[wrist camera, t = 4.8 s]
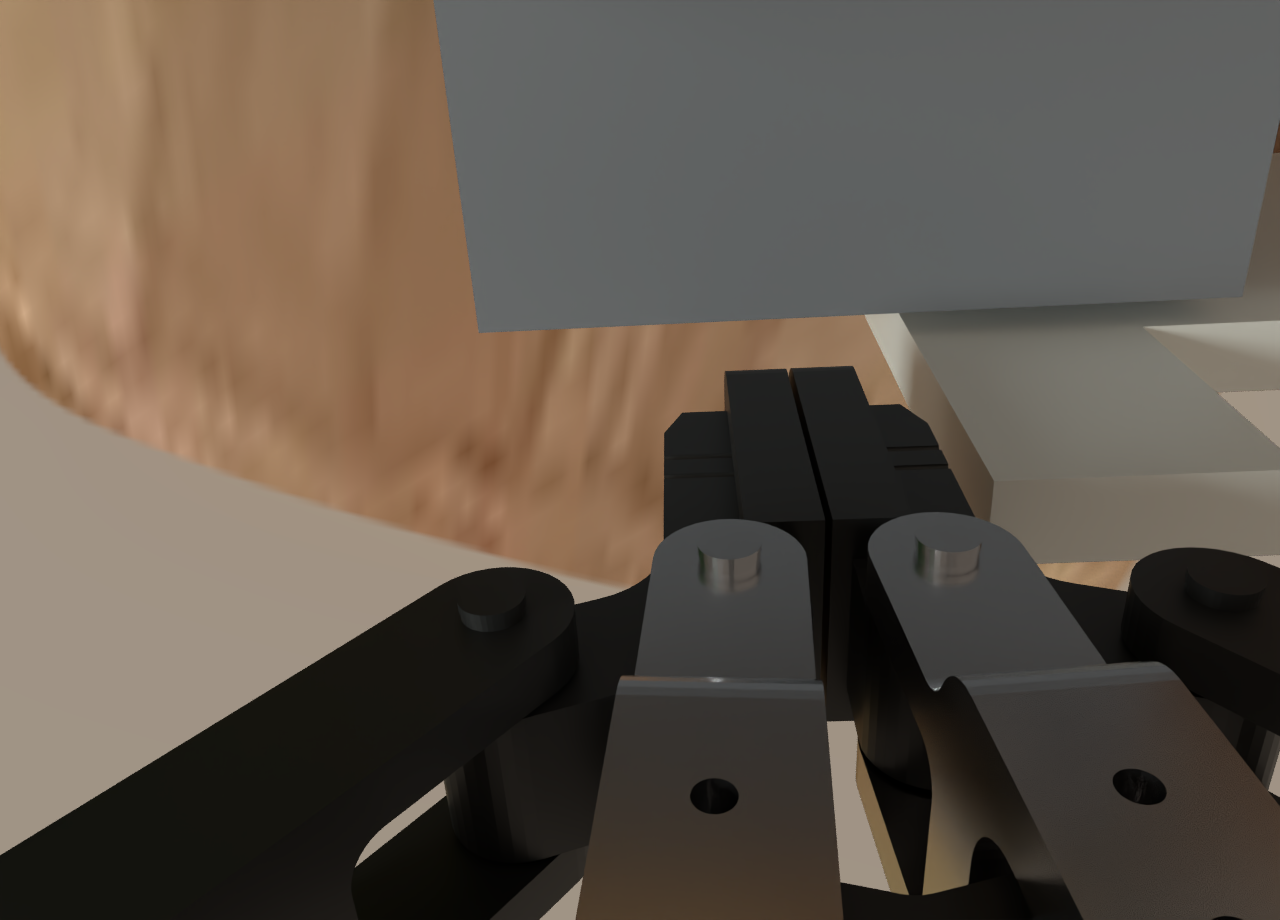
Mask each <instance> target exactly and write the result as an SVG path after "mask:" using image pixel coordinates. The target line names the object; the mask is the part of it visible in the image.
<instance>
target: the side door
mask: <svg viewBox="0 0 1280 920" xmlns="http://www.w3.org/2000/svg"><path fill="white" fill-rule="evenodd" d="M865 317H866V319H867V322H868V324H869V326H870V328H871V330H872V332H873V334H874V336H875V338H876V340H877V342H878V344H879V346H880V349H881V351H882V353H883V355H884V357H885V359H886V361H887V363H888V365H889V367H890V369H891V371H892V373H893V375H894V378H895V380H896V382H897V384H898V386H899V388H900V390H901V392H902V394H903V396H904V398H905V400H906V402H907V405H908V407H909V409H910V411H911V412H912V413H914V414H915V415H917V416H918V417H920V418H921V419H923V420H924V421H926V422H927V423H928V424H929V426H930V428H931V430H932V432H933V434H934V436H935V438H936V440H937V442H938V444H939V450H942V452H943V454H944V456H945V458H946V460H947V462H948V468H949V469H950V468H951V470H952V472H953V474H954V476H955V478H956V480H957V482H958V484H959V486H960V488H961V490H962V492H963V494H964V496H965V498H966V500H967V502H968V504H969V506H970V508H971V510H972V512H973V513H974V515H975V517H976V518H979V519H982V520H985V521H988V522H990V523H993V524H995V525H997V526H999V527H1001V528H1003V529H1005V530H1006V531H1008V532H1010V533H1011V534H1012V535H1013V536H1015V537H1016V538H1017V539H1018V540H1019V541H1020V542H1021V543H1022V545H1023V546H1024V547H1025V549H1026V550H1027V551H1028V553H1029V554H1030V556H1031V557H1032V558H1033V560H1034V561H1035V563H1036V564H1043V563H1071V562H1099V561H1128V560H1141V559H1142V558H1144V557H1146V556H1148V555H1150V554H1152V553H1155V552H1158V551H1161V550H1166V549H1172V548H1184V547H1197V548H1210V549H1219V550H1224V551H1229V552H1234V553H1238V554H1242V555H1245V556H1268V555H1280V448H1279V447H1278V446H1277V445H1275V444H1274V443H1273V442H1272V441H1271V440H1270V439H1269V438H1268V437H1267V436H1265V435H1264V434H1263V433H1262V432H1261V431H1260V430H1259V429H1258V428H1256V427H1255V426H1254V425H1253V424H1252V423H1251V422H1250V421H1248V420H1247V419H1246V418H1245V417H1244V416H1243V415H1242V414H1240V413H1239V412H1238V411H1237V410H1236V409H1235V408H1234V407H1233V406H1231V405H1230V404H1229V403H1228V402H1227V401H1226V400H1225V399H1224V398H1222V397H1221V396H1220V395H1219V394H1218V393H1217V392H1238V391H1263V390H1280V153H1273V154H1272V159H1271V164H1270V169H1269V173H1268V178H1267V183H1266V187H1265V192H1264V197H1263V202H1262V206H1261V211H1260V216H1259V220H1258V225H1257V230H1256V235H1255V239H1254V244H1253V249H1252V253H1251V258H1250V263H1249V268H1248V272H1247V277H1246V282H1245V286H1244V291H1243V296H1242V297H1232V298H1210V299H1189V300H1168V301H1147V302H1125V303H1104V304H1083V305H1061V306H1040V307H1019V308H997V309H976V310H955V311H933V312H912V313H891V314H869V315H865Z"/></svg>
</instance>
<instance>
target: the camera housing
mask: <svg viewBox="0 0 1280 920" xmlns="http://www.w3.org/2000/svg"><path fill="white" fill-rule="evenodd" d="M434 7H435V14H436V22H437V29H438V36H439V44H440V51H441V58H442V66H443V73H444V80H445V88H446V95H447V102H448V110H449V117H450V124H451V132H452V139H453V146H454V154H455V161H456V168H457V176H458V183H459V190H460V198H461V205H462V213H463V220H464V227H465V235H466V242H467V249H468V257H469V264H470V271H471V279H472V286H473V293H474V301H475V308H476V315H477V323H478V330H479V333H486V332H507V331H528V330H550V329H571V328H592V327H614V326H635V325H656V324H677V323H699V322H720V321H741V320H763V319H784V318H805V317H827V316H848V315H869V314H891V313H912V312H933V311H955V310H976V309H997V308H1019V307H1040V306H1061V305H1083V304H1104V303H1125V302H1147V301H1168V300H1189V299H1210V298H1232V297H1242V296H1243V291H1244V286H1245V282H1246V277H1247V272H1248V268H1249V263H1250V258H1251V253H1252V249H1253V244H1254V239H1255V235H1256V230H1257V225H1258V220H1259V216H1260V211H1261V206H1262V202H1263V197H1264V192H1265V187H1266V183H1267V178H1268V173H1269V169H1270V164H1271V159H1272V154H1273V150H1274V145H1275V140H1276V136H1277V131H1278V126H1279V121H1280V0H434Z"/></svg>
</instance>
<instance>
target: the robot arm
mask: <svg viewBox="0 0 1280 920" xmlns="http://www.w3.org/2000/svg"><path fill="white" fill-rule="evenodd" d="M724 397H725V411H716V412H690V413H682V414H681V415H680V416H679V417H678V418H677V419H676V420H675V422H674V423H673V424H672V425H671V426H670V427H669V428H668V430H667V431H666V432H665V433H664V540H663V541H662V542H661V543H660V544H659V546H658V548H657V549H656V551H655V554H654V557H653V562H652V569H651V574H650V575H649V576H647V577H646V578H645V579H644V580H642V581H641V582H639V583H638V584H636V585H634V586H632V587H630V588H629V589H627V590H624V591H622V592H619V593H617V594H614V595H611V596H608V597H604V598H600V599H597V600H592V601H588V602H584V603H580V604H574V599H573V596H572V594H571V592H570V590H569V589H568V588H567V586H565V584H563V583H562V582H561V581H560V580H558V579H556V578H555V577H553V576H551V575H549V574H546V573H543V572H540V571H536V570H532V569H526V568H516V567H504V568H503V567H501V568H491V569H485V570H480V571H475V572H471V573H468V574H465V575H462V576H459V577H457V578H454V579H452V580H450V581H448V582H446V583H444V584H442V585H440V586H439V587H437V588H435V589H434V590H432V591H431V592H429V593H427V594H426V595H424V596H422V597H421V598H419V599H417V600H416V601H414V602H413V603H411V604H409V605H408V606H406V607H404V608H403V609H401V610H399V611H398V612H396V613H395V614H393V615H392V616H390V617H388V618H386V619H385V620H383V621H382V622H380V623H378V624H377V625H375V626H373V627H372V628H370V629H368V630H367V631H365V632H364V633H362V634H360V635H359V636H357V637H356V638H354V639H352V640H351V641H349V642H347V643H346V644H344V645H343V646H341V647H339V648H337V649H336V650H334V651H333V652H331V653H329V654H328V655H326V656H324V657H323V658H321V659H320V660H318V661H316V662H315V663H313V664H311V665H310V666H308V667H307V668H305V669H303V670H302V671H300V672H298V673H297V674H295V675H293V676H292V677H290V678H289V679H287V680H286V681H284V682H282V683H280V684H279V685H277V686H276V687H274V688H272V689H271V690H269V691H267V692H266V693H264V694H262V695H261V696H259V697H258V698H256V699H254V700H253V701H251V702H250V703H248V704H246V705H245V706H243V707H241V708H240V709H238V710H237V711H235V712H233V713H231V714H230V715H228V716H227V717H225V718H223V719H222V720H220V721H219V722H217V723H215V724H214V725H212V726H210V727H209V728H207V729H205V730H204V731H202V732H201V733H199V734H197V735H196V736H194V737H192V738H191V739H189V740H188V741H186V742H184V743H183V744H181V745H179V746H178V747H176V748H174V749H173V750H171V751H170V752H168V753H166V754H165V755H163V756H161V757H160V758H159V759H157V760H155V761H153V762H152V763H150V764H148V765H147V766H145V767H143V768H142V769H140V770H139V771H137V772H135V773H134V774H132V775H130V776H129V777H127V778H126V779H124V780H122V781H121V782H119V783H117V784H116V785H114V786H112V787H111V788H109V789H108V790H106V791H104V792H103V793H101V794H100V795H98V796H96V797H95V798H93V799H91V800H90V801H88V802H86V803H85V804H83V805H81V806H80V807H79V808H77V809H75V810H73V811H72V812H70V813H68V814H67V815H65V816H64V817H62V818H60V819H59V820H57V821H56V822H54V823H52V824H51V825H49V826H47V827H46V828H44V829H42V830H41V831H39V832H37V833H36V834H34V835H33V836H31V837H30V838H28V839H26V840H24V841H23V842H21V843H20V844H18V845H16V846H15V847H13V848H12V849H10V850H8V851H6V852H5V853H3V854H2V855H0V920H539V919H540V918H541V917H542V916H543V915H545V914H546V913H547V911H549V910H550V909H551V908H552V907H553V906H554V905H555V904H556V903H557V902H558V901H559V900H560V899H561V898H562V897H563V896H564V895H565V894H566V893H567V892H568V891H569V890H570V889H571V888H572V887H573V886H574V885H575V884H576V883H577V882H579V881H580V879H581V878H582V877H583V881H582V886H581V892H580V897H579V903H578V908H577V914H576V920H1280V797H1278V796H1276V795H1274V794H1273V793H1271V792H1269V791H1268V789H1269V785H1270V782H1271V778H1272V775H1273V772H1274V768H1275V765H1276V762H1277V758H1278V755H1279V751H1280V568H1278V567H1276V566H1273V565H1270V564H1268V563H1266V562H1263V561H1260V560H1257V559H1255V558H1252V557H1249V556H1245V555H1242V554H1238V553H1234V552H1229V551H1224V550H1219V549H1210V548H1197V547H1184V548H1172V549H1166V550H1161V551H1158V552H1155V553H1152V554H1150V555H1148V556H1146V557H1144V558H1142V559H1141V560H1140V561H1139V562H1137V563H1136V565H1135V566H1134V568H1133V569H1132V572H1131V577H1130V582H1129V587H1128V592H1126V591H1120V590H1113V589H1107V588H1100V587H1094V586H1087V585H1081V584H1074V583H1069V582H1064V581H1059V580H1055V579H1052V578H1048V577H1045V576H1044V574H1043V573H1042V571H1041V570H1040V568H1039V567H1038V566H1037V564H1036V563H1035V561H1034V560H1033V558H1032V557H1031V556H1030V554H1029V553H1028V551H1027V550H1026V549H1025V547H1024V546H1023V545H1022V543H1021V542H1020V541H1019V540H1018V539H1017V538H1016V537H1015V536H1013V535H1012V534H1011V533H1010V532H1008V531H1006V530H1005V529H1003V528H1001V527H999V526H997V525H995V524H993V523H990V522H988V521H985V520H982V519H979V518H976V517H975V515H974V513H973V512H972V510H971V508H970V506H969V504H968V502H967V500H966V498H965V496H964V494H963V492H962V490H961V488H960V486H959V484H958V482H957V480H956V478H955V476H954V474H953V472H952V470H951V468H950V469H949V468H948V462H947V460H946V458H945V456H944V454H943V452H942V450H939V444H938V442H937V440H936V438H935V436H934V434H933V432H932V430H931V428H930V426H929V424H928V423H927V422H926V421H924V420H923V419H921V418H920V417H918V416H917V415H915V414H914V413H912V412H911V411H909V410H908V409H906V408H905V407H903V406H902V405H900V404H893V405H869V404H868V401H867V399H866V396H865V394H864V391H863V389H862V386H861V384H860V381H859V379H858V376H857V374H856V371H855V369H854V367H853V366H838V367H813V368H791V369H790V372H789V377H788V373H787V370H786V369H768V370H743V371H725V377H724ZM827 721H854V722H855V727H856V731H857V735H858V743H857V761H856V783H857V788H858V791H859V794H860V797H861V801H862V803H863V807H864V810H865V813H866V816H867V819H868V822H869V825H870V829H871V832H872V835H873V838H874V841H875V844H876V847H877V851H878V854H879V857H880V860H881V863H882V866H883V869H884V873H885V876H886V879H887V882H888V885H889V888H890V891H891V892H889V891H883V890H878V889H873V888H867V887H862V886H857V885H852V884H847V883H841V882H840V873H839V861H838V849H837V837H836V826H835V814H834V802H833V790H832V778H831V766H830V754H829V742H828V732H827V731H828V730H827ZM443 780H444V784H445V790H446V796H445V797H444V798H442V799H441V800H440V801H439V802H437V803H436V804H435V805H434V806H432V807H431V808H430V809H429V810H427V811H426V812H425V813H423V814H422V815H421V816H420V817H418V818H417V819H416V820H415V821H413V822H412V823H411V824H410V825H408V826H407V827H406V828H404V829H403V830H402V831H401V832H399V833H398V834H397V835H396V836H394V837H393V838H392V839H391V840H389V841H388V842H387V843H385V844H384V845H383V846H382V847H380V848H379V849H378V850H377V851H376V852H374V853H373V854H372V855H370V856H369V857H368V858H367V859H365V860H364V861H363V862H362V863H360V864H359V865H358V866H356V863H357V861H358V859H359V857H360V855H361V853H362V852H363V850H364V848H365V847H366V845H367V844H368V843H369V841H370V840H371V839H372V838H373V837H374V836H375V835H376V834H377V832H378V831H380V830H381V829H382V828H383V827H384V826H385V825H387V824H388V823H389V822H391V821H392V820H393V819H394V818H396V817H397V816H398V815H400V814H401V813H402V812H404V811H405V810H406V809H407V808H409V807H410V806H411V805H413V804H414V803H415V802H416V801H418V800H419V799H420V798H422V797H423V796H424V795H425V794H427V793H428V792H429V791H430V790H432V789H433V788H434V787H436V786H437V785H438V784H440V783H441V782H442V781H443ZM355 866H356V867H355Z"/></svg>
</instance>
